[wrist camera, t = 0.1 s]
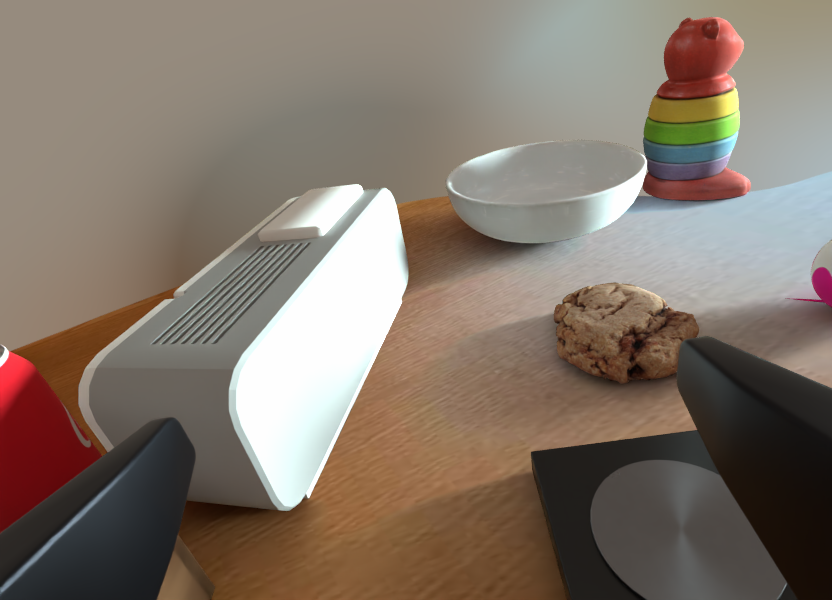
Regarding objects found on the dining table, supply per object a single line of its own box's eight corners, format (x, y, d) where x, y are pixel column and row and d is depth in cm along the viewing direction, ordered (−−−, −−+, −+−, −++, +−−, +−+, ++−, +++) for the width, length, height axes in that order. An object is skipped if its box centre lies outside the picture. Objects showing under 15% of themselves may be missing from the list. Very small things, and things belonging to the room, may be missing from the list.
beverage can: (117, 464, 34) (16, 324, 28) (136, 519, 29) (20, 366, 23) (15, 523, 31) (-123, 380, 25) (18, 594, 26) (-150, 441, 20)
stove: (915, 683, 17) (938, 652, 16) (596, 710, 18) (596, 682, 17) (733, 443, 26) (740, 413, 25) (532, 469, 27) (529, 441, 26)
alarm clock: (330, 291, 51) (296, 182, 45) (414, 287, 48) (389, 171, 42) (158, 526, 29) (46, 372, 23) (297, 544, 26) (210, 374, 20)
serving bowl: (470, 284, 47) (461, 218, 43) (443, 212, 65) (435, 162, 61) (683, 242, 46) (691, 172, 43) (596, 181, 64) (596, 129, 61)
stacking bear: (757, 195, 52) (791, 5, 43) (658, 209, 54) (671, 28, 45) (712, 167, 61) (732, 6, 52) (628, 179, 63) (635, 25, 54)
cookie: (622, 290, 41) (624, 258, 40) (733, 354, 32) (740, 316, 31) (520, 328, 39) (517, 297, 38) (608, 408, 30) (609, 371, 29)
